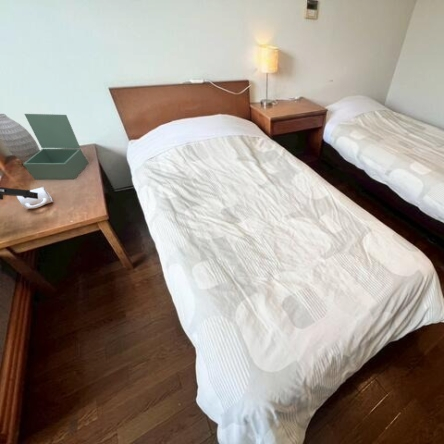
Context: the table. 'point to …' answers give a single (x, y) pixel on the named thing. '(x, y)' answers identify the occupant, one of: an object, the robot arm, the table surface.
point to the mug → (34, 203)
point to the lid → (52, 130)
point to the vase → (17, 139)
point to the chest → (56, 164)
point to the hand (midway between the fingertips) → (19, 196)
